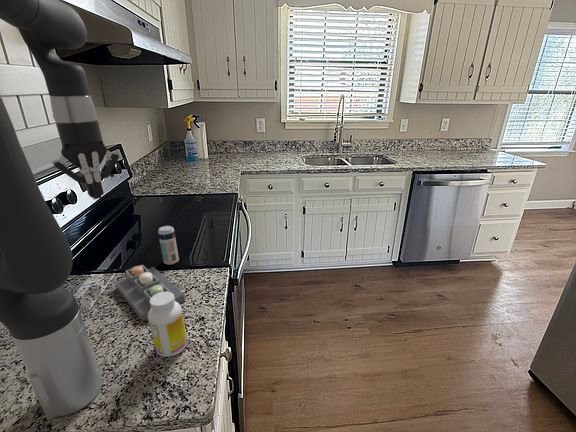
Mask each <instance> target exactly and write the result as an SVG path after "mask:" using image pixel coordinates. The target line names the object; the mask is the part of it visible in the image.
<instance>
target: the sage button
mask: <svg viewBox="0 0 576 432" xmlns="http://www.w3.org/2000/svg"><path fill="white" fill-rule="evenodd" d="M149 291H150V295H151V297H153V296H154V295H155V294H157V293H160V292H164V290H163V286H162V285H155V286H153V287H151V288H150V290H149Z"/></svg>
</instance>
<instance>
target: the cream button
mask: <svg viewBox="0 0 576 432" xmlns="http://www.w3.org/2000/svg"><path fill="white" fill-rule="evenodd" d="M139 280H140V284H141V286H145V285H147V284H149V283H152V282H153V277H152V273H150V272H146V273H142V274H141V275H140V276H139Z"/></svg>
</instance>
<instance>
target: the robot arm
mask: <svg viewBox="0 0 576 432" xmlns="http://www.w3.org/2000/svg"><path fill="white" fill-rule="evenodd" d="M0 20H2V21H4V22H5V23H7V24H9V25H10V26H12V27H14V28H16V29H18V32H19V34H20V36H21V38H22V39H23V41H24V43H25V44H26V46H27V48H28V50H29V51H30V53H31V54H32V57H33V59H34V60H35V62H36V63H37V65H38V68H39V69H40V70H41V71H40V72H41V73H42V74H43V77H44V81H45V86H46V89H47V93H48V95H49V99H50V106H51V111H52V118H53V120H54V123H55V126H56V129H57V133H58V136H59V139H60V143H61V146H62V147H61V150H60V153H61V156H60V157H58V158H57V159H56V160H53V161H52V166H54V167H55V168H56V169H58V170H59V171H61V172H62V173H63V174H65V175H67V176H68V177H70V178H71V179H72V180H73V181H74V182H75V181H76V182H77V183H78V184H79V183H80V184H81V183H83V184H85V189H86V191H87V195H88V196H89V197H90V198H92V199H93V200H97V199H101V198H102V196H103V195H104V189H103V185H102V181H103V180H104V179H108V178H109V177H110V175H111V173H112V171H113V169H114V167H115V166H116V164H117V162H118V160H119V159H120V156H119V154H117V153H114V152H112V151H110V150H108V147H107V146H106V145H105V144H104V141H103V136H102V132H101V128H100V124H99V120H98V116H97V115H98V114H97V111H96V108H95V107H96V106H95V103H94V102H93V99H92V96H91V92H90V86H89V83H88V82H89V81H88V79H87V75H86V72H85V71H86V70H85V69H84V68H83V66H81V65H79V64H75V63H73V62H66V61H64V60H62V59H61V58H60V57H59V56H58V54H57V52H56V51H55V50H78V49H80V48H82V47H83V46H84V45H85V44H86V42H87V39H88V32H87V28H86V25H85V23H84V21H83V19H82V18H81V16H80V15H79V14H78V13H77V12H76V11H75V9H73V8H72V7H71V6H70V5H68V4H67V3H65V2H63V1H61V0H0ZM26 157H27V156H25V152H24V151H23V147H22V145H21V143H20V141H19V137H18V135H17V133H16V130H15V127H14V124H13V122H12V119H11V117H10V115H9V113H8V110H7V107H6V106H5V103H4V101H3V98H2V96H1V94H0V323H1V324H2V325H4V326H5V327H6V329H7V331H8V332H9V334H10V336H11V338H12V340H13V343H14V345H15V348H16V349H17V352H18V354H19V356H20V358H21V360H22V362H23V365H24V367H25V369H26V371H27V372H26V373H27V375H28V380H29V383H30V385H31V387H32V390H33V392H34V394H35V396H36V398H37V399H38V400H37V401H38V402H39V405H40V406H41V409H42V411H43V413H44V416H45V417H46V420H47V421H51V420H52V419H54V418H56V417H62V416H63V417H64V416H68V415H71V414H73V413H76V412H78V411H80V410H82V409H83V408H86V406H88V405H89V404H90V403H91V402H92V401H93V400H94V399H96V397H97V396H98V395H99V393H100V391H101V390H102V386H103V382H104V381H103V377H102V373H101V369H100V367H99V364H98V361H97V358H96V355H95V353H94V350H93V349H94V348H93V345H92V343H91V340H90V338H89V334H88V331H87V328H86V326H85V325H86V324H85V322H84V319H83V316H82V313H81V311H80V307H79V304H78V301H77V299H76V297H75V295H74V293H73V292H71V291H70V290H69V289H67V288H65V287H64V286H63V285H64V284H65V283H66V282H67V280H68V278H69V277H70V275H71V273H72V272H71V271H72V269H73V262H74V259H73V252H72V249H71V246H70V245H71V244H70V243H69V241H68V239H67V236H65V233H64V231H63V230H62V228H61V226H60V225H59V223H58V221H57V219H56V217H55V216H54V214H53V212H52V210H51V209H50V206H49V205H48V204H47V202H46V200H45V198H44V196H43V194H42V191H41V189H40V187H39V185H38V182H37V180H36V178H35V175H34V173H33V171H32V169H31V166H30V163H29V162H28V160H27V158H26ZM104 158H105V160H106V161H105V162H104V165H103V167H102V168H101V167H100V166H101V164H102V162H103V160H104ZM67 161H68V162H69V163H71V164H72V165H73V166H75V167H76V168H78V169H79V171H80V174H81V175H78V174H77V173H75V172H74V171H73V170H71V169H70V168H68V167H69V163H68V162H67Z"/></svg>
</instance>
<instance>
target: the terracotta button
mask: <svg viewBox="0 0 576 432" xmlns="http://www.w3.org/2000/svg"><path fill="white" fill-rule="evenodd" d="M130 269H131V274H132V276H135V275H138V274H141V273H143V272H144V270H143V267H142V266H140V265H135V266H133V267H131V268H130Z"/></svg>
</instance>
